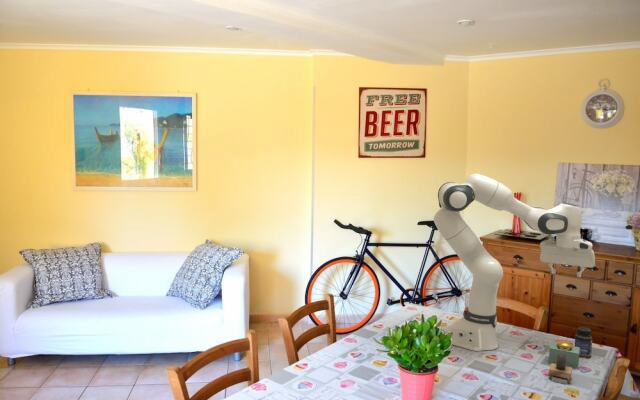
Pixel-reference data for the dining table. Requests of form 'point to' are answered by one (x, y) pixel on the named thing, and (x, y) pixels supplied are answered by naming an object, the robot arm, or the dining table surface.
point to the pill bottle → (584, 342)
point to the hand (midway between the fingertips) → (566, 275)
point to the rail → (560, 378)
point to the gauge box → (571, 355)
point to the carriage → (560, 368)
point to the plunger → (564, 344)
